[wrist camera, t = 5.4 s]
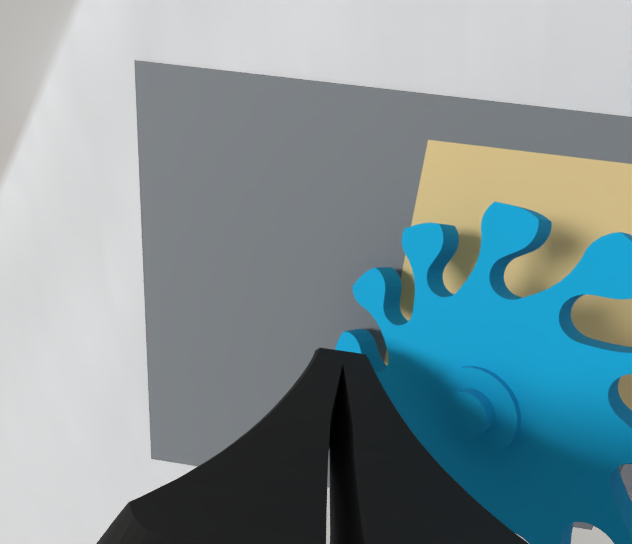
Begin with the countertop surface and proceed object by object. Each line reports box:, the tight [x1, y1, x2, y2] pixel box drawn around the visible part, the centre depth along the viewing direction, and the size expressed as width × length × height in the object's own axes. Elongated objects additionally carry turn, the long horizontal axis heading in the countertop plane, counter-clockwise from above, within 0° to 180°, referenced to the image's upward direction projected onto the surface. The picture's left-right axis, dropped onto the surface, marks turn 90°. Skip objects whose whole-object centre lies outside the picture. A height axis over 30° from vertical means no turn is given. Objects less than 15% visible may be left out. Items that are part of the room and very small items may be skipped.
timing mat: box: [135, 60, 632, 530], centre depth 14 cm, size 18×15×1 cm
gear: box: [335, 202, 632, 544], centre depth 12 cm, size 11×6×10 cm
